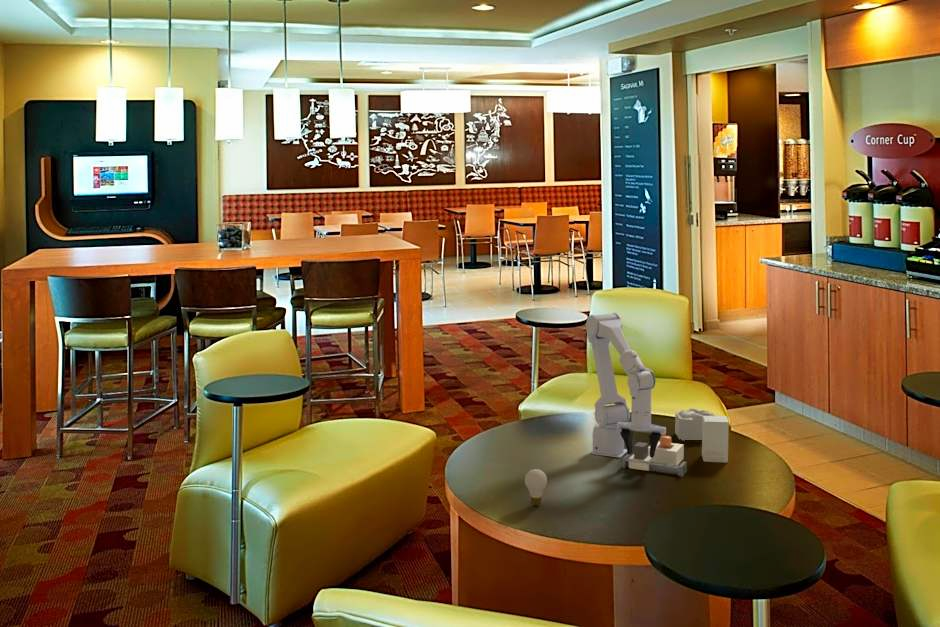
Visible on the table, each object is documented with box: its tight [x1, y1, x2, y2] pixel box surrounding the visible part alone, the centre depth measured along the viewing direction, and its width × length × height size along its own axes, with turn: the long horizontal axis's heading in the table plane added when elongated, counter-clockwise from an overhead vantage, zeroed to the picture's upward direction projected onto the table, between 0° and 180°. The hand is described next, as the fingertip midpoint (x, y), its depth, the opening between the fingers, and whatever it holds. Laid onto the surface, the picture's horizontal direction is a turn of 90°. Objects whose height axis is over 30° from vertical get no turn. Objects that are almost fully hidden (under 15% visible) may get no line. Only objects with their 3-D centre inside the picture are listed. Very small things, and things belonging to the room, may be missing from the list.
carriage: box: [628, 441, 653, 472], centre depth 260 cm, size 6×5×7 cm
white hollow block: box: [648, 440, 685, 465], centre depth 267 cm, size 9×8×4 cm
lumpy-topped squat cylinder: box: [674, 407, 717, 441], centre depth 291 cm, size 10×13×9 cm
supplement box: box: [701, 415, 730, 463], centre depth 267 cm, size 7×7×13 cm
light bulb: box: [524, 468, 548, 507], centre depth 232 cm, size 6×6×10 cm
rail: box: [621, 453, 688, 478], centre depth 259 cm, size 18×5×3 cm, turn 61°
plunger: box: [659, 435, 672, 449], centre depth 266 cm, size 3×3×5 cm
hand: (641, 455), depth 260 cm, fingers open, 6 cm apart
